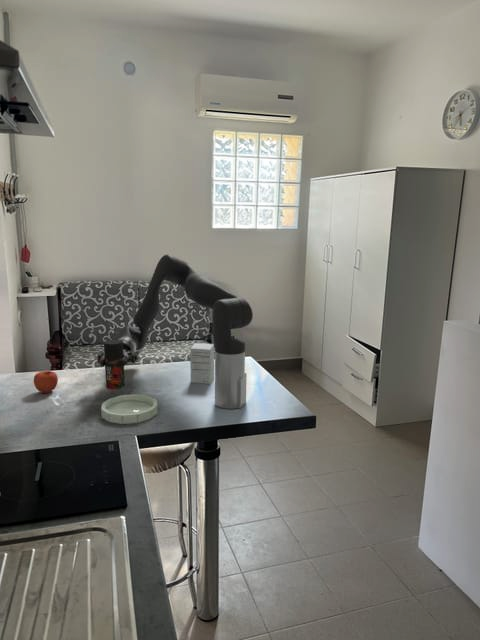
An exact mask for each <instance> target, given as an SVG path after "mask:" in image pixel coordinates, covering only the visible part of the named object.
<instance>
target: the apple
mask: <svg viewBox="0 0 480 640" xmlns="http://www.w3.org/2000/svg"><path fill="white" fill-rule="evenodd" d="M58 380H59V377H58V375H57V373H56V372H54V371H51V368H49V370H41V371H39V372H37V373H35V374H34V376H33V385H34V387H35V388H36V390H37V391H38V392H41V394H46V395H47V394H49V393H51V392H52V391H54V390H55V389H56V387H57V385H58V382H59V381H58Z"/></svg>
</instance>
